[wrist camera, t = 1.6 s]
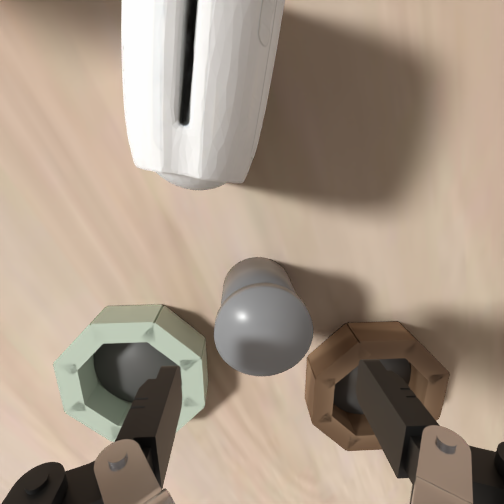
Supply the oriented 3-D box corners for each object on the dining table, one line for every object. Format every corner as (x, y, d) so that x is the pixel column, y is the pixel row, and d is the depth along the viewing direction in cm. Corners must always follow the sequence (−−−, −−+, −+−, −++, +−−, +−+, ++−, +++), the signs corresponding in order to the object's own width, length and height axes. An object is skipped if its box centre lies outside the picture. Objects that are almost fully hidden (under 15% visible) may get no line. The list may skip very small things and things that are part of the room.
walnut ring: (308, 324, 22) (317, 343, 20) (434, 320, 23) (457, 338, 21) (303, 425, 25) (310, 452, 23) (415, 420, 26) (433, 446, 23)
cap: (218, 255, 21) (211, 290, 15) (294, 253, 21) (316, 287, 15) (221, 322, 22) (216, 378, 16) (292, 320, 22) (310, 374, 17)
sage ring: (65, 307, 21) (43, 325, 19) (203, 303, 22) (199, 320, 19) (88, 416, 24) (72, 443, 22) (210, 411, 24) (206, 437, 22)
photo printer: (197, -16, 16) (82, -518, 4) (273, 1, 16) (361, -415, 5) (180, 174, 19) (83, 189, 7) (245, 185, 19) (255, 216, 7)
